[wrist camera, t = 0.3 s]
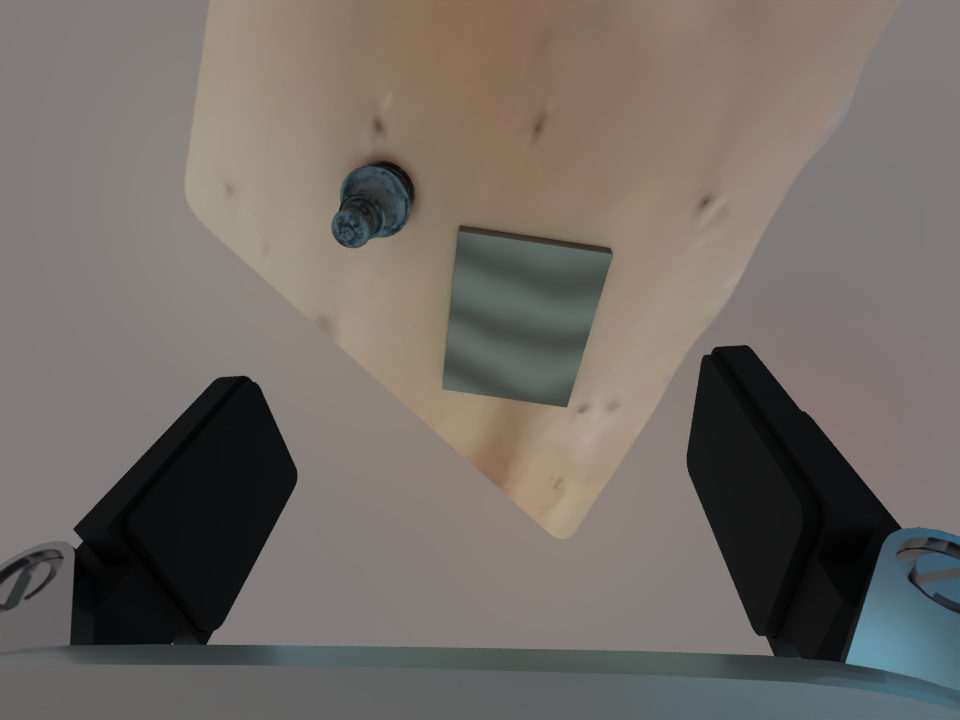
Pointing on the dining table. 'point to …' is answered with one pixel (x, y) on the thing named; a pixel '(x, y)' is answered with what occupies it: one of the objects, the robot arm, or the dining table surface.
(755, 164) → the dining table surface
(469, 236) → the serving board
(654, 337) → the dining table surface
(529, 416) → the dining table surface
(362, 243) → the dark grey chess piece
